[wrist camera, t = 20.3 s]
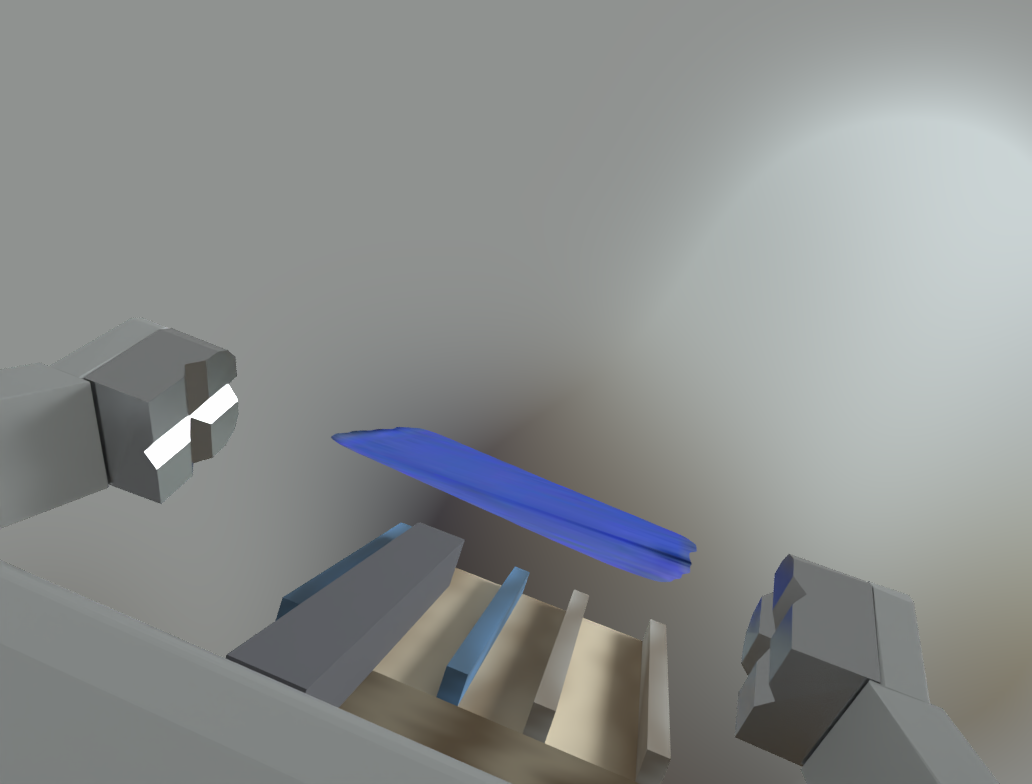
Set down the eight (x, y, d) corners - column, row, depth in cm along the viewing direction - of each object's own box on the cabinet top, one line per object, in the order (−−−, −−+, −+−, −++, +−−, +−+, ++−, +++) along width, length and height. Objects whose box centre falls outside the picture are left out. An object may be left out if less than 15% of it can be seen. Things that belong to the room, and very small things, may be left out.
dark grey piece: (449, 585, 46) (464, 539, 45) (280, 771, 25) (306, 689, 25) (404, 567, 46) (419, 522, 46) (202, 735, 26) (226, 654, 25)
